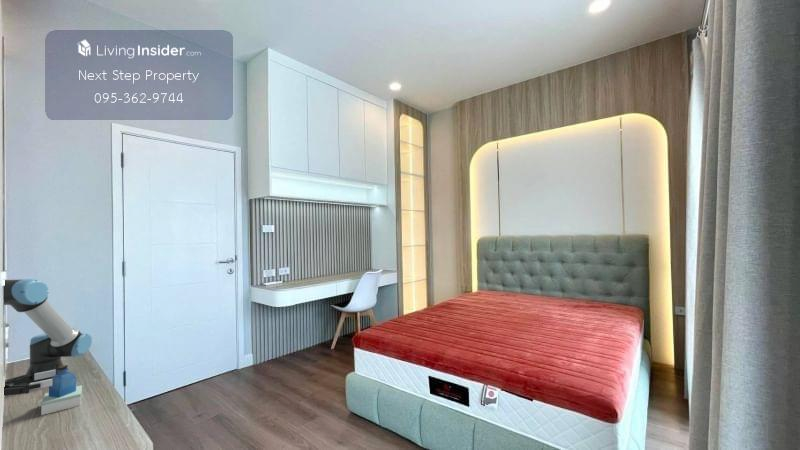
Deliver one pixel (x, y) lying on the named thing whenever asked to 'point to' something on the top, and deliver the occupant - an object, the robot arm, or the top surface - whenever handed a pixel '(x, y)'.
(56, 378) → the perfume bottle
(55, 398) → the mint green square block
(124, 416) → the top surface
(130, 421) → the top surface
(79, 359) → the top surface
